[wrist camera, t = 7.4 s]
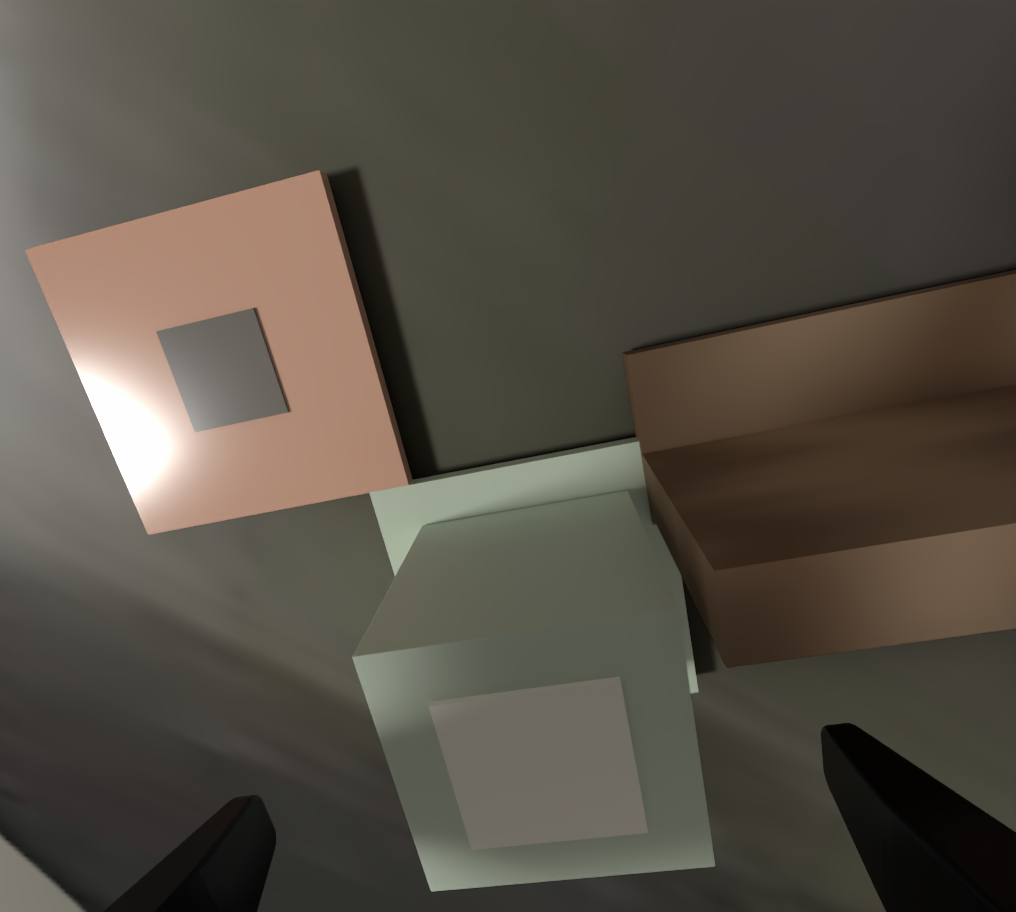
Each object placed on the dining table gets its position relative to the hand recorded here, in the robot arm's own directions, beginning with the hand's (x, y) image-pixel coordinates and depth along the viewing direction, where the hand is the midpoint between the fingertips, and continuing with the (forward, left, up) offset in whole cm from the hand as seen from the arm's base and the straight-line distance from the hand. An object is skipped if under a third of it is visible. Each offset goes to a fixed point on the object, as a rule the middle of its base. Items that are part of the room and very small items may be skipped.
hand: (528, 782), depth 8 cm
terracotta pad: (+6, -7, -6) cm, 11 cm away
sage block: (0, 0, -5) cm, 5 cm away
